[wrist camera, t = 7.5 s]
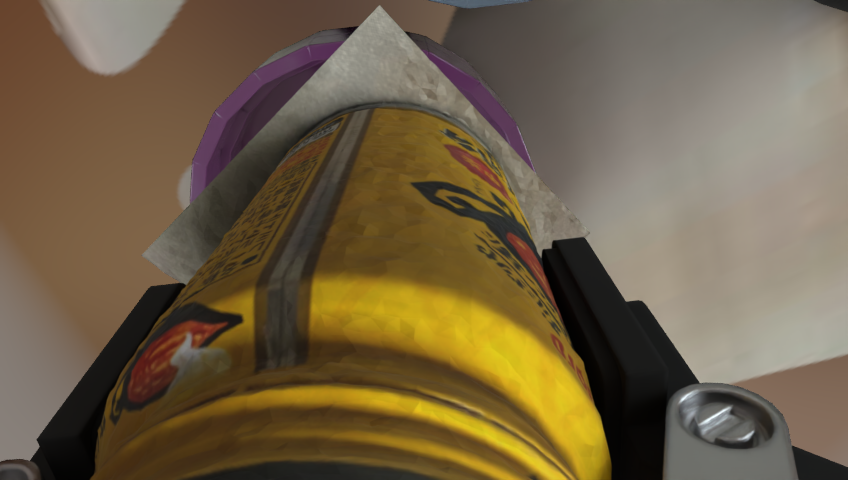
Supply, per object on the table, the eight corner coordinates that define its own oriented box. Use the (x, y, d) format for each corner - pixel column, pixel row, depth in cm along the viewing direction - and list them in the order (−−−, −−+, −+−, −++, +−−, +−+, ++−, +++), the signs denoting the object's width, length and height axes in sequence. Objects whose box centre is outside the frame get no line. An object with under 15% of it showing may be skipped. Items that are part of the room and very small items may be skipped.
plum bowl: (186, 45, 28) (144, 64, 23) (510, 7, 27) (532, 19, 23) (258, 319, 34) (236, 377, 29) (522, 290, 34) (542, 343, 29)
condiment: (588, 229, 16) (975, 853, 5) (353, 417, 18) (230, 1131, 7) (380, 3, 14) (157, 134, 2) (146, 250, 16) (-500, 877, 5)
